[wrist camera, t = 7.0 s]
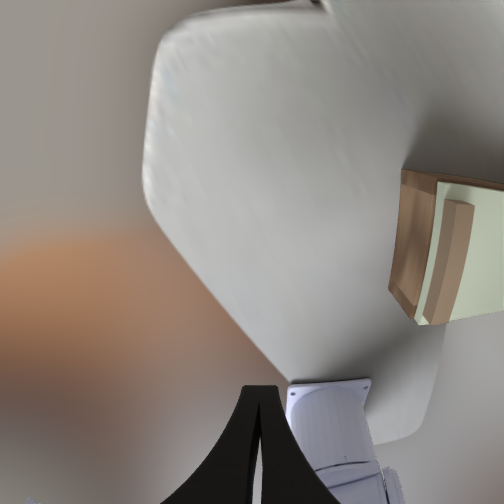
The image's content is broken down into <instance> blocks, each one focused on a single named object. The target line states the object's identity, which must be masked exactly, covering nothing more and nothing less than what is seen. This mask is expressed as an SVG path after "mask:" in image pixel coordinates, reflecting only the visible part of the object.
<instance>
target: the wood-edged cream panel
mask: <svg viewBox="0 0 504 504" xmlns="http://www.w3.org/2000/svg"><path fill="white" fill-rule="evenodd" d="M499 311H504V191H499V190H494V189H488V188H482V187H475V186H468V185H461V184H454V183H446V182H438V184H437V197H436V207H435V216H434V224H433V231H432V238H431V245H430V250H429V256H428V262H427V267H426V272H425V276H424V281H423V285H422V290H421V294H420V298H419V302H418V306H417V310H416V313H415V317H414V319H415V320H416V322H417V323H418V325H426V324H430V325H437V324H444V323H448V322H449V321H452V320H458V319H464V318H469V317H475V316H480V315H484V314H489V313H494V312H499Z"/></svg>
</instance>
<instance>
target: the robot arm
mask: <svg viewBox="0 0 504 504" xmlns="http://www.w3.org/2000/svg"><path fill="white" fill-rule="evenodd" d="M371 384H372V382H371V380H370V379H359V380H350V381H339V382H328V383H313V384H293V385H290V386H289V387H288V393H287V406H286V416H285V413H284V410H283V407H282V404H281V400H280V396H279V391H278V387H277V386H276V385H271V386H270V385H264V386H263V385H262V386H261V385H259V386H258V385H245V386H243V387H242V390H241V394H240V397H239V399H238V402H237V405H236V407H235V409H234V412H233V414H232V416H231V418H230V420H229V422H228V424H227V426H226V428H225V429H224V431H223V433H222V434H221V436H220V438H219V439H218V441H217V443H216V444H215V446H214V447H213V449H212V450H211V451H210V453H209V454H208V456H207V457H206V458H205V460H204V461H203V462H202V464H201V465H200V466H199V467H198V468H197V469H196V470H195V472H194V473H193V474H192V475H191V476H190V477H189V478H188V479H187V480H186V481H185V483H183V484H182V485H181V486H180V487H179V488H178V489H177V490H176V491H175V492H174V493H173V494H171V495H170V496H169V497H168V498H167V499H165V500H164V501H163V502H162V503H160V504H252V498H253V497H252V496H253V481H254V474H255V468H256V461H257V455H258V448H259V440H260V439H261V451H262V466H263V472H262V494H261V495H262V496H261V504H405V500H404V495H403V491H402V487H401V484H400V480H399V477H398V474H397V471H396V470H394V469H390V467H385V468H383V469H382V470H383V474H384V481H383V477H382V473H381V469H380V466H379V463H378V461H377V457H376V454H375V449H374V446H373V442H372V438H371V434H370V431H369V427H368V423H367V420H366V416H365V413H364V409H363V406H364V403H365V401H366V398H367V395H368V392H369V389H370V387H371ZM365 386H366V387H365ZM292 392H294V393H292ZM384 482H385V485H384ZM385 487H386V490H385ZM25 504H39V503H38V502H36V501H34V500H33V499H31V498H30V497H28V498H27V500H26V503H25Z"/></svg>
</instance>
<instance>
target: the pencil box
mask: <svg viewBox="0 0 504 504" xmlns="http://www.w3.org/2000/svg"><path fill="white" fill-rule="evenodd" d="M438 182H446V183H454V184H461V185H468V186H475V187H482V188H488V189H494V190H499V191H504V184H500V183H495V182H490V181H484V180H479V179H473V178H467V177H460V176H454V175H447V174H439V173H431V172H423V171H414V170H404V169H402V172H401V191H400V205H399V216H398V226H397V235H396V243H395V250H394V257H393V264H392V270H391V276H390V282H389V287H388V289H389V291H390V292H391V293H392V295H393V296H394V297H395V299H396V300H397V301H398V303H399V304H400V306H401V307H402V308H403V310H404V311H405V313H406V314H407V315H408V317H409V318H410V319H412V318H414V317H415V313H416V310H417V306H418V302H419V298H420V294H421V290H422V285H423V281H424V276H425V272H426V267H427V262H428V256H429V250H430V245H431V238H432V231H433V224H434V216H435V207H436V197H437V184H438Z"/></svg>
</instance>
